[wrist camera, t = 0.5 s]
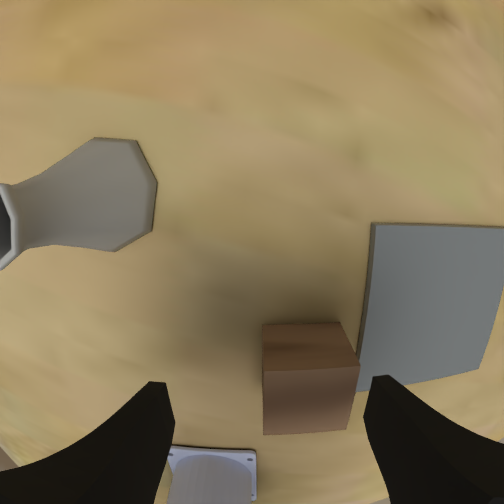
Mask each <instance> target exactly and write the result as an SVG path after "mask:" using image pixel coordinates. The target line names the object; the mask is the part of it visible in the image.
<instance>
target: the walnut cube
mask: <svg viewBox="0 0 504 504" xmlns="http://www.w3.org/2000/svg"><path fill="white" fill-rule="evenodd" d="M360 368H361V365H360V363H359V361H358V359H357V357H356V354H355V352H354V350H353V348H352V346H351V344H350V342H349V340H348V338H347V336H346V334H345V332H344V330H343V328H342V326H341V324H340V322H335V323H314V324H281V325H262V392H263V435H282V434H302V433H315V432H326V431H336V430H345V429H346V428H347V425H348V421H349V417H350V413H351V409H352V404H353V400H354V396H355V391H356V387H357V382H358V378H359V373H360Z"/></svg>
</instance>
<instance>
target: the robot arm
mask: <svg viewBox="0 0 504 504" xmlns="http://www.w3.org/2000/svg"><path fill="white" fill-rule="evenodd" d="M363 418H364V423H365V427H366V432H367V436H368V440H369V442H370V445H371V448H372V450H373V453H374V455H375V458H376V461H377V463H378V466H379V468H380V471H381V473H382V476H383V479H384V481H385V484H386V487H387V490H388V493H389V498H390V502H391V504H504V444H502V443H499V442H496V441H493V440H491V439H488V438H486V437H483V436H480V435H478V434H476V433H474V432H472V431H470V430H468V429H466V428H464V427H462V426H460V425H458V424H456V423H455V422H453V421H451V420H450V419H448V418H446V417H445V416H443V415H442V414H440V413H439V412H437V411H436V410H434V409H433V408H431V407H430V406H429V405H427V404H426V403H425V402H423V401H422V400H421V399H419V398H418V397H417V396H415V395H414V394H413V393H412V392H410V391H409V390H408V389H407V388H405V387H404V386H403V385H402V384H400V383H399V382H398V381H397V380H395V379H394V378H393V377H391V376H390V375H389V374H387V375H380V376H373V378H372V383H371V387H370V391H369V396H368V400H367V404H366V408H365V412H364V415H363ZM174 427H175V419H174V415H173V411H172V407H171V403H170V399H169V395H168V391H167V386H166V383H164V382H152V381H149V382H148V383H147V384H146V385H145V386H144V387H143V388H142V389H141V390H140V391H138V392H137V393H136V394H135V395H134V396H133V397H132V398H131V399H130V400H129V401H128V402H127V403H126V404H125V405H124V406H122V407H121V408H120V409H119V410H118V411H117V412H116V413H115V414H113V415H112V416H111V417H110V418H109V419H108V420H106V421H105V422H104V423H103V424H101V425H100V426H99V427H97V428H96V429H95V430H94V431H92V432H91V433H89V434H88V435H86V436H85V437H84V438H82V439H80V440H79V441H77V442H75V443H74V444H72V445H70V446H69V447H67V448H65V449H63V450H61V451H59V452H57V453H55V454H53V455H51V456H49V457H46V458H44V459H41V460H39V461H36V462H34V463H31V464H28V465H25V466H21V467H18V468H14V469H9V470H5V471H1V472H0V504H154V500H155V496H156V492H157V489H158V486H159V483H160V480H161V477H162V473H163V470H164V467H165V464H166V461H167V459H168V462H169V465H170V468H171V470H172V473H173V478H172V482H171V487H170V491H169V495H168V499H167V503H166V504H251V501H255V500H256V499H257V493H256V452H255V451H252V450H220V449H203V448H190V447H180V446H171V445H172V439H173V433H174Z"/></svg>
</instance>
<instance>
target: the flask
mask: <svg viewBox="0 0 504 504" xmlns="http://www.w3.org/2000/svg"><path fill="white" fill-rule="evenodd" d="M156 186H157V182H156V180H155V178H154V176H153V174H152V172H151V170H150V168H149V166H148V164H147V162H146V160H145V158H144V156H143V154H142V152H141V150H140V148H139V146H138V144H137V142H136V140H124V139H110V138H93V139H91V140H90V141H88V142H86V143H85V144H83V145H82V146H81V147H79V148H78V149H76V150H75V151H73V152H72V153H71V154H69V155H68V156H66V157H65V158H63V159H62V160H60V161H59V162H57V163H56V164H54V165H53V166H51V167H50V168H48V169H47V170H45V171H44V172H43V173H41V174H39V175H37V176H34V177H32V178H30V179H27V180H25V181H23V182H21V183H18V184H15V185H9V184H2V183H0V270H3V269H4V268H5V267H6V266H8V265H9V264H10V263H11V262H12V261H13V260H14V259H15V258H16V257H18V256H19V255H20V254H21V253H22V252H23V251H25V250H27V249H29V248H35V247H42V246H49V245H63V246H73V247H83V248H90V249H96V250H102V251H109V252H116V251H118V250H120V249H121V248H123V247H125V246H126V245H128V244H130V243H132V242H133V241H135V240H137V239H138V238H140V237H142V236H144V235H145V234H147V233H149V232H151V229H152V219H153V210H154V202H155V194H156Z"/></svg>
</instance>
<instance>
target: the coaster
mask: <svg viewBox="0 0 504 504" xmlns="http://www.w3.org/2000/svg"><path fill="white" fill-rule="evenodd" d="M503 286H504V227H494V226H472V225H446V224H413V223H371V237H370V250H369V262H368V272H367V282H366V291H365V299H364V307H363V314H362V321H361V328H360V335H359V341H358V347H357V353H356V357H357V359H358V361H359V363H360V365H361V368H360V373H359V378H358V382H357V387H356V391H355V392H359V391H368V390H370V387H371V383H372V378H373V376H380V375H387V374H389V375H390V376H391V377H393V378H394V379H395V380H397V381H398V382H399V383H400V384H402V385H408V384H413V383H419V382H424V381H429V380H434V379H438V378H443V377H448V376H452V375H456V374H460V373H464V372H468V371H472V370H476V369H479V366H480V363H481V361H482V358H483V355H484V352H485V349H486V346H487V343H488V340H489V337H490V334H491V331H492V328H493V324H494V321H495V317H496V314H497V310H498V306H499V302H500V298H501V294H502V290H503Z"/></svg>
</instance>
